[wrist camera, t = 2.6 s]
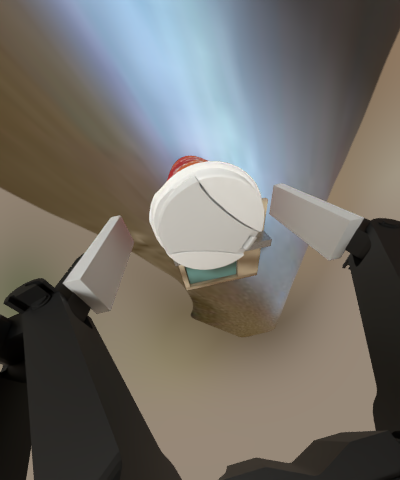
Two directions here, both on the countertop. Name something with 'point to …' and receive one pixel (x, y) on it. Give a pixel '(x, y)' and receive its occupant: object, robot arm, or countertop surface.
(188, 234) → the coffee cup
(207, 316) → the countertop surface
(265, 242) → the rail
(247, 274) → the board
